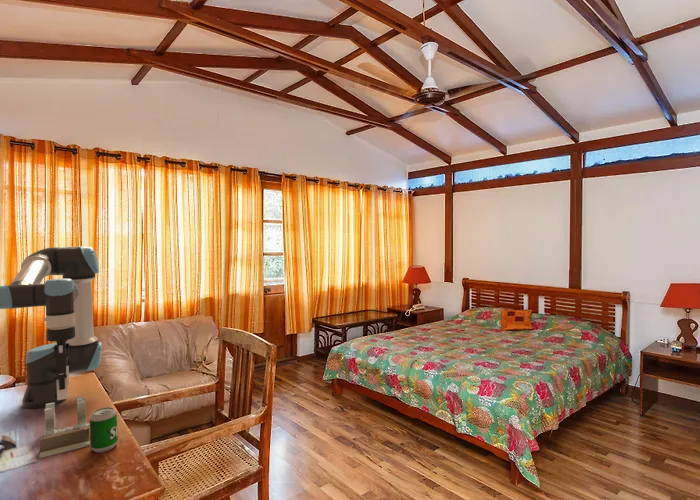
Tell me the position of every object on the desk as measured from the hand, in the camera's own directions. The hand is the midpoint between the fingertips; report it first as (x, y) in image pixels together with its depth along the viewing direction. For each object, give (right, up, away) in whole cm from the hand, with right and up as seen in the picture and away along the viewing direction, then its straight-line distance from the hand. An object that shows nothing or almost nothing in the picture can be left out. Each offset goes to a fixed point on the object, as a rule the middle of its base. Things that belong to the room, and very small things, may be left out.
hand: (63, 392), depth 131 cm
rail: (0, -17, 0) cm, 17 cm away
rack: (-6, -18, +10) cm, 21 cm away
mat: (0, -18, 0) cm, 18 cm away
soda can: (+14, -18, -1) cm, 22 cm away
